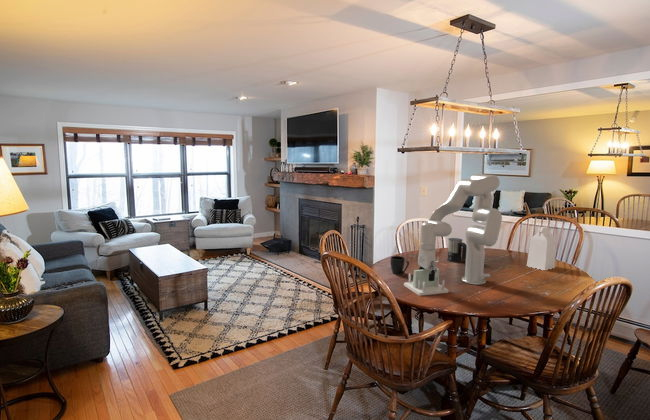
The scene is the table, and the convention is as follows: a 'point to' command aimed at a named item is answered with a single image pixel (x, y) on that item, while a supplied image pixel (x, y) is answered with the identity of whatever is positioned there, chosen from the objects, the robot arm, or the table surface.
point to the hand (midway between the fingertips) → (426, 278)
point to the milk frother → (456, 250)
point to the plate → (424, 278)
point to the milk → (542, 250)
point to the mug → (398, 264)
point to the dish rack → (426, 290)
